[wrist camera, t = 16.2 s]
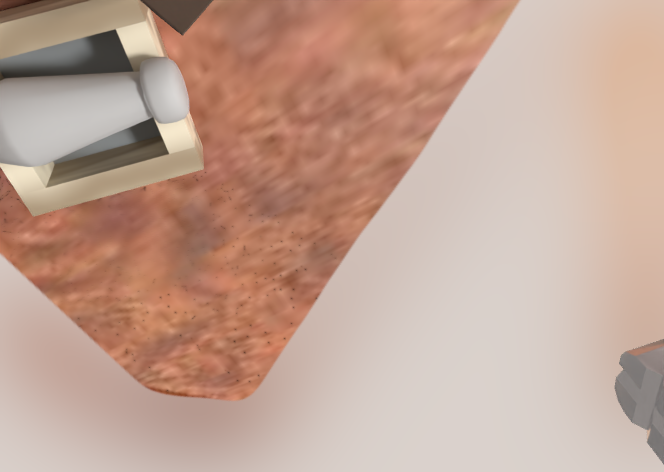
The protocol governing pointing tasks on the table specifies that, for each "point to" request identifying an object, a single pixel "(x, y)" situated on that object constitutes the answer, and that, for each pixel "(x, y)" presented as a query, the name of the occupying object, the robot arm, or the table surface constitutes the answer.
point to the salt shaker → (84, 109)
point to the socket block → (92, 58)
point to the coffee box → (178, 11)
